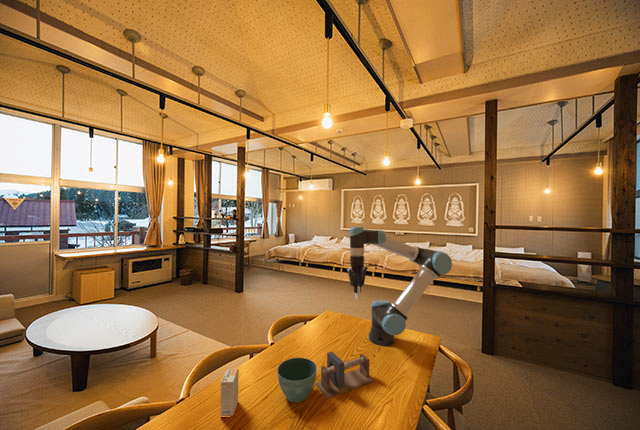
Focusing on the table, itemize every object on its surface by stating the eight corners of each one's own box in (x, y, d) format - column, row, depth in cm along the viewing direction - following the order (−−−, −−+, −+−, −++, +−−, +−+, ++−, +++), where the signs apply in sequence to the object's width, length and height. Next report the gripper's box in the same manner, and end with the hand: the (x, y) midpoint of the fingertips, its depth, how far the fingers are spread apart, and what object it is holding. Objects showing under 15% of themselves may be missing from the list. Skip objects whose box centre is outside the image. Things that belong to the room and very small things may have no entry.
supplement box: (226, 402, 98) (226, 368, 99) (238, 401, 99) (239, 367, 99) (219, 418, 90) (219, 381, 90) (233, 418, 91) (233, 381, 91)
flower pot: (301, 416, 92) (301, 386, 92) (268, 399, 100) (268, 371, 100) (324, 390, 105) (324, 364, 106) (293, 378, 114) (293, 353, 114)
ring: (331, 373, 113) (331, 351, 113) (344, 386, 104) (344, 362, 104) (327, 375, 112) (327, 352, 112) (339, 388, 103) (339, 363, 103)
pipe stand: (360, 369, 121) (360, 350, 121) (374, 381, 112) (374, 360, 112) (316, 384, 109) (316, 363, 109) (327, 399, 100) (327, 376, 101)
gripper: (361, 253, 144) (362, 295, 143) (343, 255, 137) (343, 298, 137) (370, 255, 137) (371, 298, 137) (351, 257, 131) (352, 302, 130)
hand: (357, 298), depth 137 cm, fingers closed
